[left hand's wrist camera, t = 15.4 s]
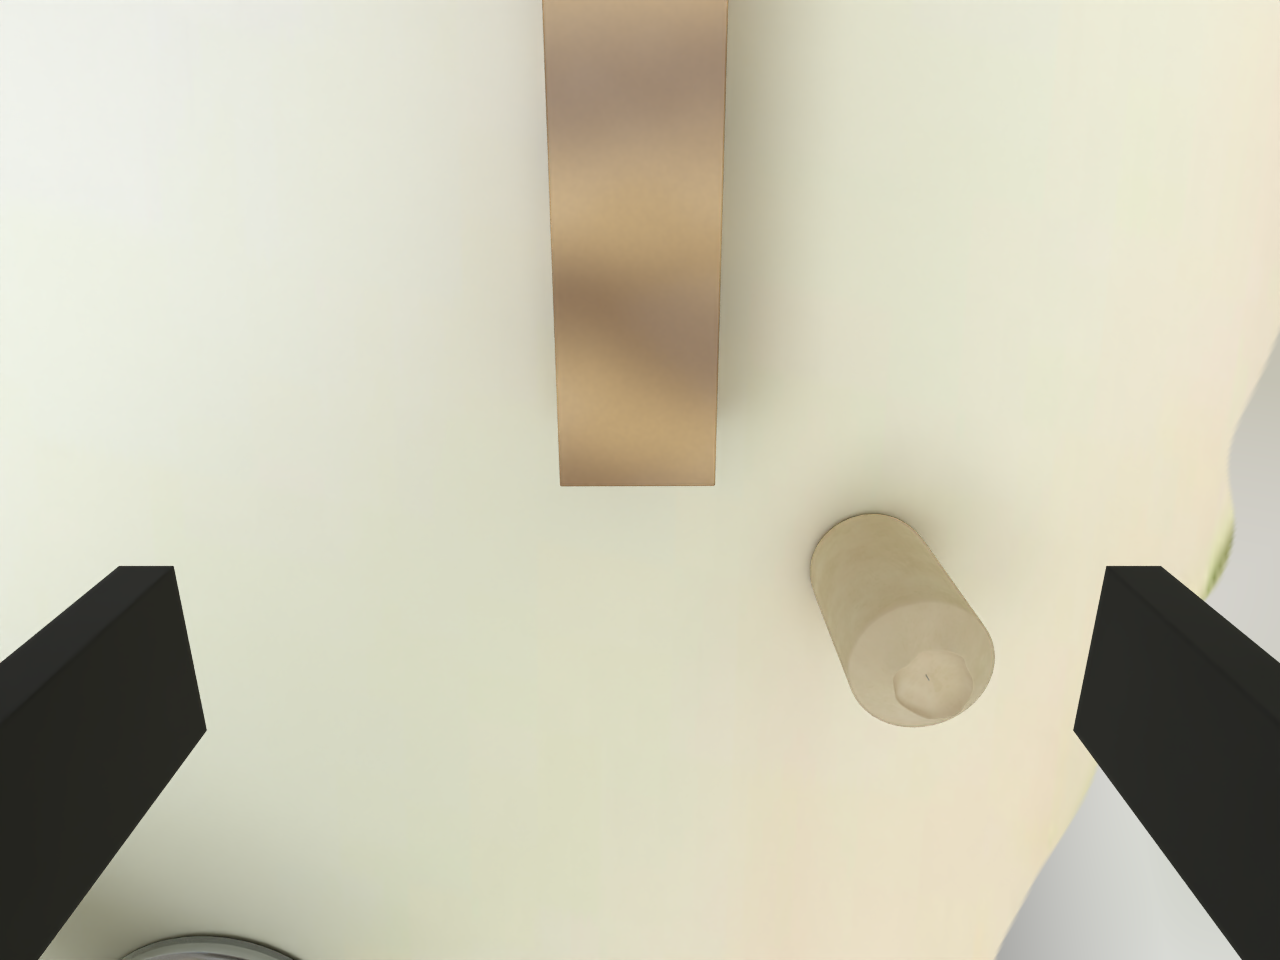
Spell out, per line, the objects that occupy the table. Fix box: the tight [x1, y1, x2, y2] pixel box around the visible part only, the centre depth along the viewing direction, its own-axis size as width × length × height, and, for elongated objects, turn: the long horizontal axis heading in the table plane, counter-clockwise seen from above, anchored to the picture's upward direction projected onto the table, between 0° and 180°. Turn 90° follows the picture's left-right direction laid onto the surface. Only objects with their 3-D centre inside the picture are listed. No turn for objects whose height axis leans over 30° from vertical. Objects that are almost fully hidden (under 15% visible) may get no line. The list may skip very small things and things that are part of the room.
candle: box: [810, 514, 995, 727], centre depth 37 cm, size 6×6×10 cm
